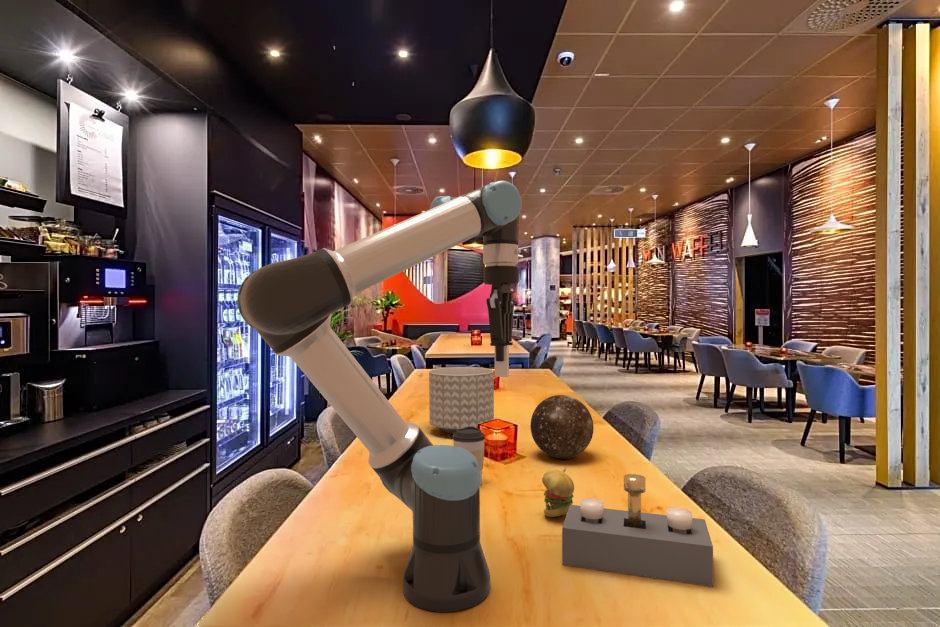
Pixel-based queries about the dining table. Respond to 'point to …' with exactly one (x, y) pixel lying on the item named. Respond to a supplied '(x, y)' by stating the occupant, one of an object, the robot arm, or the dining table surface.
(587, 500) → the knob
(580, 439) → the decorative sphere
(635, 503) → the amber round-headed peg
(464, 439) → the coffee cup
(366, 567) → the dining table surface
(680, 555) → the mount block
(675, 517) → the knob
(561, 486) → the hamburger
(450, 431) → the planter
